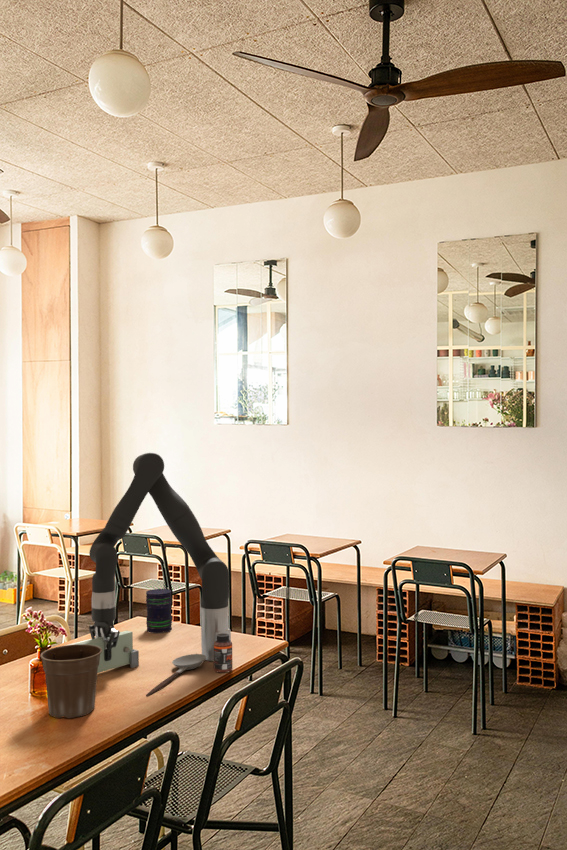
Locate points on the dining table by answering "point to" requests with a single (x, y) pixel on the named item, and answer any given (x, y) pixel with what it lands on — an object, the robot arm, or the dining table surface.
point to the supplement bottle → (223, 653)
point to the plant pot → (71, 679)
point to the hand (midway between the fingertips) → (104, 659)
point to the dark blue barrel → (158, 610)
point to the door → (114, 651)
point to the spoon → (181, 668)
